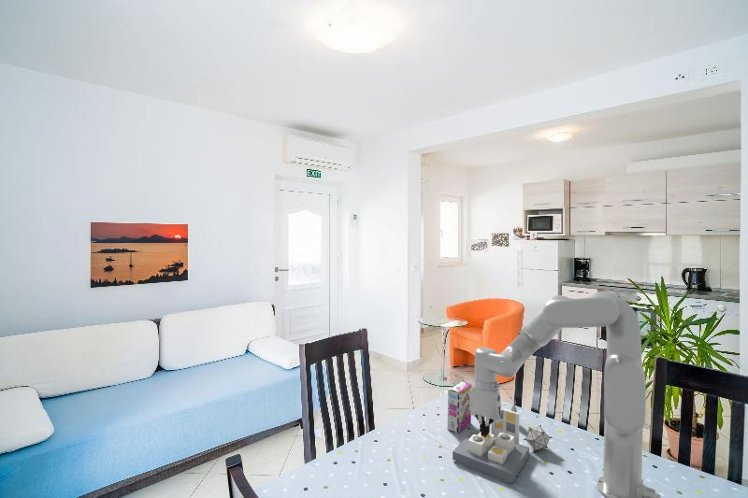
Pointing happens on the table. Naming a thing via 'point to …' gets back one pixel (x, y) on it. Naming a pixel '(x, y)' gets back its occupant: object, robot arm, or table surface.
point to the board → (491, 467)
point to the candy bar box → (459, 407)
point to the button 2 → (488, 439)
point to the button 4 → (498, 455)
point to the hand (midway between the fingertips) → (484, 434)
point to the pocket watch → (514, 407)
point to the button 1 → (477, 445)
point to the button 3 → (505, 442)
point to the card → (507, 424)
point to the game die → (537, 438)
